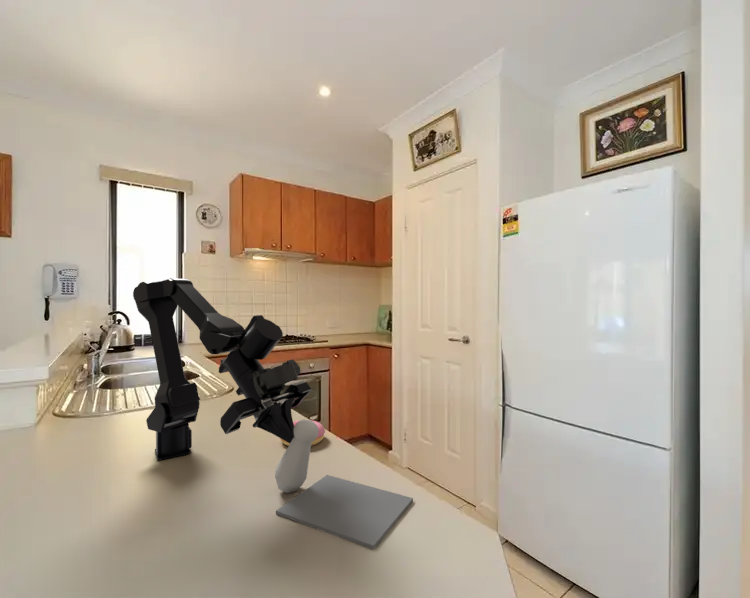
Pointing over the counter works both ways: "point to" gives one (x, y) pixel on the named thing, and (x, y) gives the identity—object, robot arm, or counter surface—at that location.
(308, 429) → the salt shaker
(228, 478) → the counter surface
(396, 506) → the mat
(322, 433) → the doughnut
